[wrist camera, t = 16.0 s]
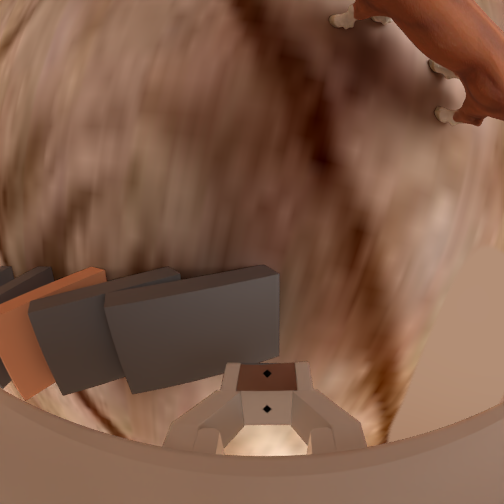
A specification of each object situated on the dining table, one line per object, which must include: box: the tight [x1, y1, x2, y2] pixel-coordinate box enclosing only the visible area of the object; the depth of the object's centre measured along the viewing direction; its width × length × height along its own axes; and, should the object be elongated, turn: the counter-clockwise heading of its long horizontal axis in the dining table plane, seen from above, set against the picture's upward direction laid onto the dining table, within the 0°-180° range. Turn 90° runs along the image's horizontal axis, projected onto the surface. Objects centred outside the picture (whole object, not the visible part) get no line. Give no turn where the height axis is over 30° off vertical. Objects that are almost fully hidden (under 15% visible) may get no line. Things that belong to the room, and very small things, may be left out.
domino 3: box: [28, 267, 181, 395], centre depth 13 cm, size 2×5×8 cm
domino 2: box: [0, 267, 107, 401], centre depth 12 cm, size 2×5×8 cm, turn 2°
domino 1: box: [0, 267, 54, 389], centre depth 13 cm, size 2×5×8 cm, turn 3°
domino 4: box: [104, 265, 280, 394], centre depth 13 cm, size 2×5×8 cm
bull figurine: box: [329, 0, 504, 126], centre depth 7 cm, size 4×13×8 cm, turn 47°
